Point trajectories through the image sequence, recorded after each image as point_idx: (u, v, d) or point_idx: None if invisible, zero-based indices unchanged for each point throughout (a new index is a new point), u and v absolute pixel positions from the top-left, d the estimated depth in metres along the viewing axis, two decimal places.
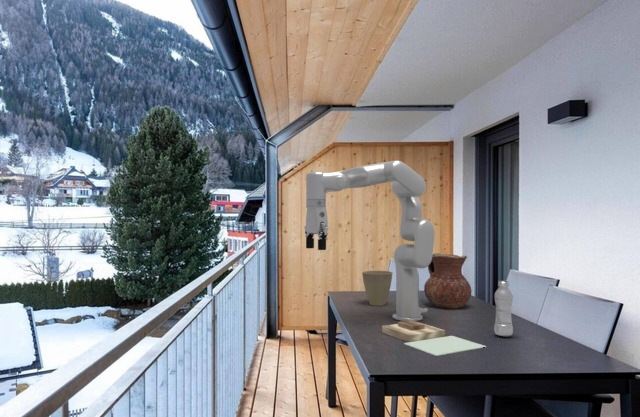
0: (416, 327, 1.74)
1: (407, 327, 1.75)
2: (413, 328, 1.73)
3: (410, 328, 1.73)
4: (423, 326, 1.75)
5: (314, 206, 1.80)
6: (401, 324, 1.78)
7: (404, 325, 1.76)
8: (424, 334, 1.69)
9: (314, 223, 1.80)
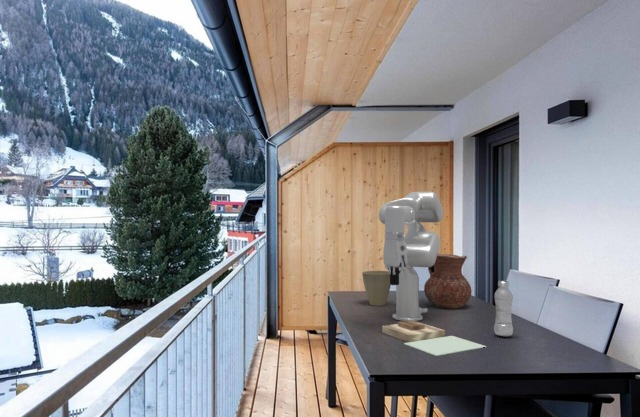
0: (416, 327, 1.74)
1: (407, 327, 1.75)
2: (413, 328, 1.73)
3: (410, 328, 1.73)
4: (423, 326, 1.75)
5: (394, 240, 1.83)
6: (401, 324, 1.78)
7: (404, 325, 1.76)
8: (424, 334, 1.69)
9: (394, 256, 1.83)
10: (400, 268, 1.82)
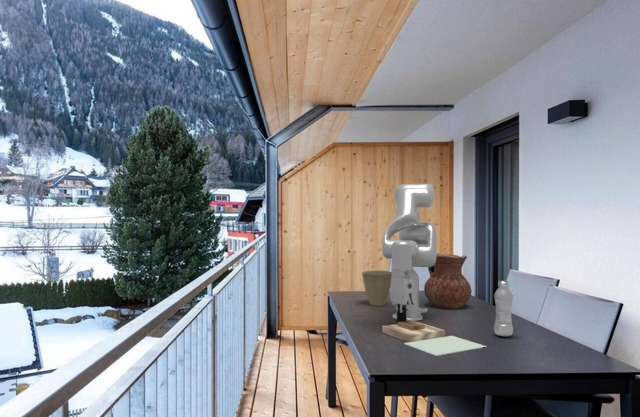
0: (416, 327, 1.74)
1: (407, 327, 1.75)
2: (413, 328, 1.73)
3: (410, 328, 1.73)
4: (423, 326, 1.75)
5: (401, 277, 1.79)
6: (401, 324, 1.78)
7: (404, 325, 1.76)
8: (424, 334, 1.69)
9: (401, 294, 1.79)
10: (407, 306, 1.78)
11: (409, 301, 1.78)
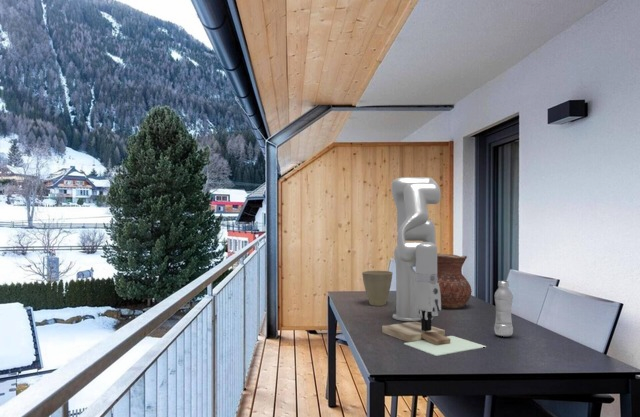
0: (441, 342, 1.62)
1: (431, 341, 1.63)
2: (438, 343, 1.61)
3: (435, 342, 1.62)
4: (449, 340, 1.64)
5: (427, 282, 1.67)
6: (425, 336, 1.66)
7: (428, 338, 1.65)
8: None
9: (427, 300, 1.67)
10: (433, 313, 1.66)
11: (435, 308, 1.66)
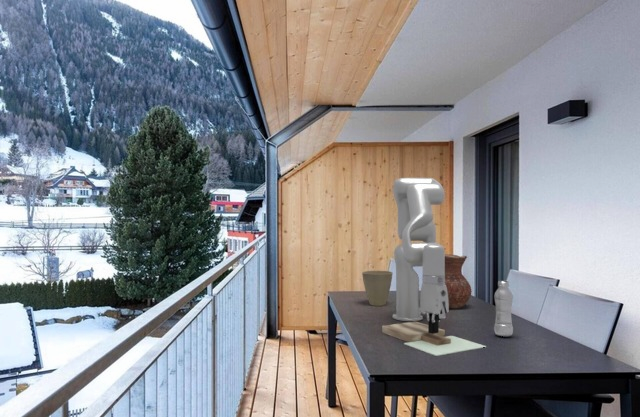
0: (442, 342, 1.62)
1: (432, 342, 1.63)
2: (439, 343, 1.61)
3: (436, 343, 1.62)
4: (449, 340, 1.64)
5: (434, 284, 1.64)
6: (425, 338, 1.66)
7: (428, 339, 1.65)
8: (424, 334, 1.69)
9: (434, 302, 1.63)
10: (441, 316, 1.63)
11: (443, 310, 1.63)
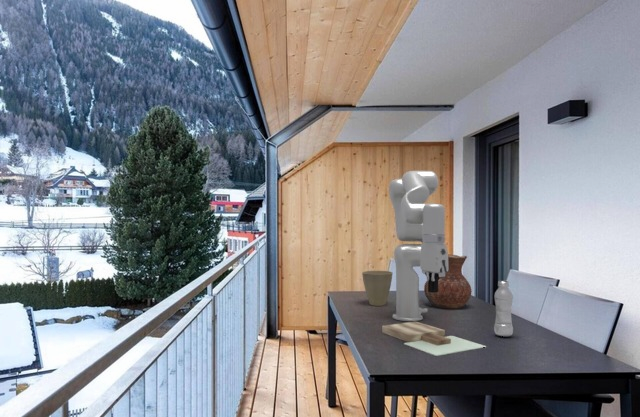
0: (442, 342, 1.62)
1: (432, 342, 1.63)
2: (439, 343, 1.61)
3: (436, 343, 1.62)
4: (449, 340, 1.64)
5: (434, 242, 1.64)
6: (425, 338, 1.66)
7: (428, 339, 1.65)
8: (424, 334, 1.69)
9: (434, 261, 1.64)
10: (440, 274, 1.63)
11: (442, 268, 1.63)
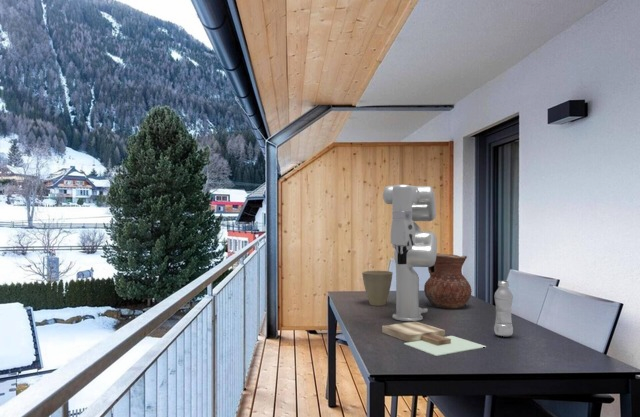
0: (442, 342, 1.62)
1: (432, 342, 1.63)
2: (439, 343, 1.61)
3: (436, 343, 1.62)
4: (449, 340, 1.64)
5: (402, 219, 1.82)
6: (425, 338, 1.66)
7: (428, 339, 1.65)
8: (424, 334, 1.69)
9: (402, 235, 1.82)
10: (408, 247, 1.82)
11: (409, 242, 1.82)
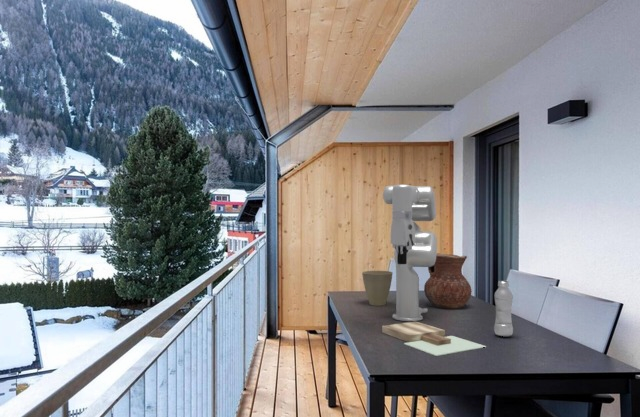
0: (442, 342, 1.62)
1: (432, 342, 1.63)
2: (439, 343, 1.61)
3: (436, 343, 1.62)
4: (449, 340, 1.64)
5: (402, 219, 1.82)
6: (425, 338, 1.66)
7: (428, 339, 1.65)
8: (424, 334, 1.69)
9: (402, 235, 1.82)
10: (408, 247, 1.82)
11: (409, 242, 1.82)
